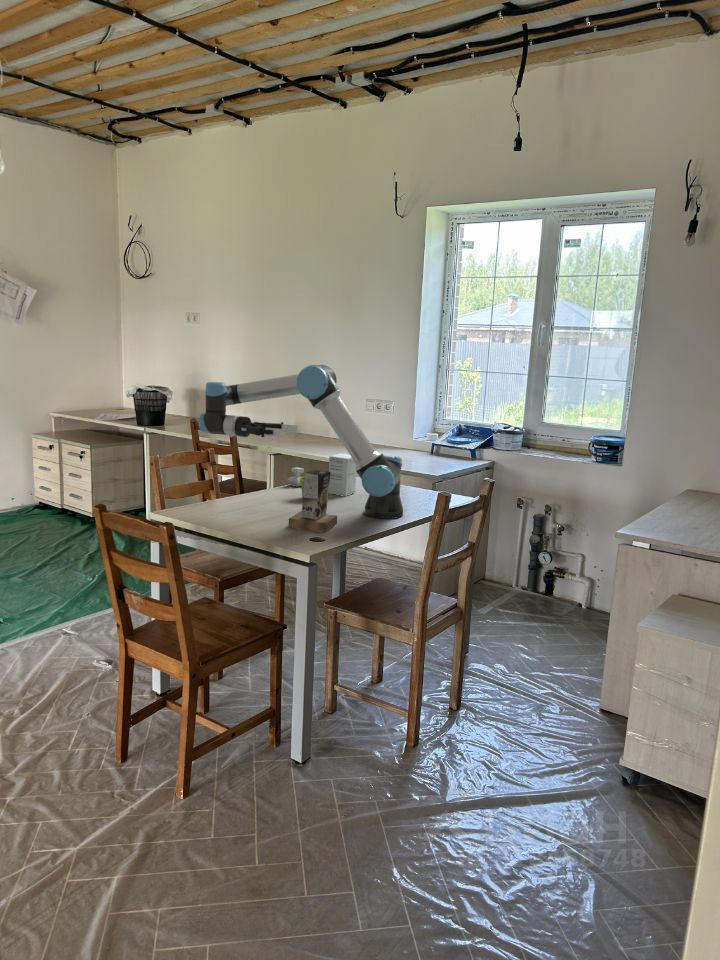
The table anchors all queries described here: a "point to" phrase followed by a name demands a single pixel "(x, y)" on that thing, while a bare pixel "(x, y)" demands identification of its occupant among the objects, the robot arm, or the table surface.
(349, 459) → the supplement box
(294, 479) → the stamp
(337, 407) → the robot arm
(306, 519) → the walnut riser block
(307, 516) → the coffee box
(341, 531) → the table surface
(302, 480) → the plant pot
